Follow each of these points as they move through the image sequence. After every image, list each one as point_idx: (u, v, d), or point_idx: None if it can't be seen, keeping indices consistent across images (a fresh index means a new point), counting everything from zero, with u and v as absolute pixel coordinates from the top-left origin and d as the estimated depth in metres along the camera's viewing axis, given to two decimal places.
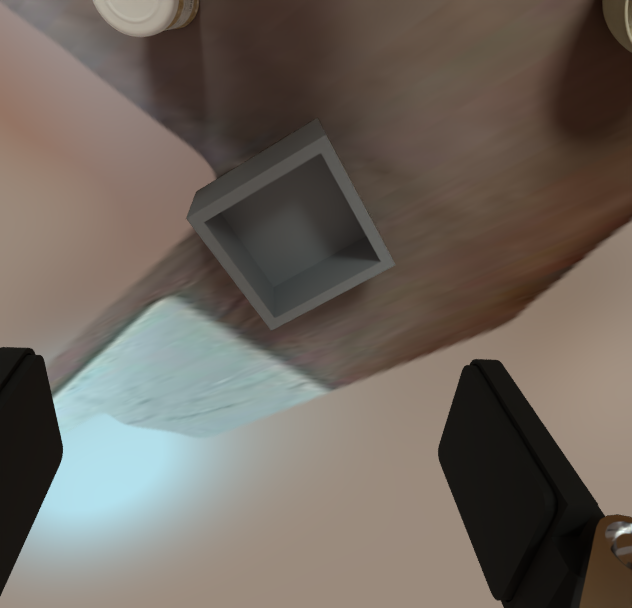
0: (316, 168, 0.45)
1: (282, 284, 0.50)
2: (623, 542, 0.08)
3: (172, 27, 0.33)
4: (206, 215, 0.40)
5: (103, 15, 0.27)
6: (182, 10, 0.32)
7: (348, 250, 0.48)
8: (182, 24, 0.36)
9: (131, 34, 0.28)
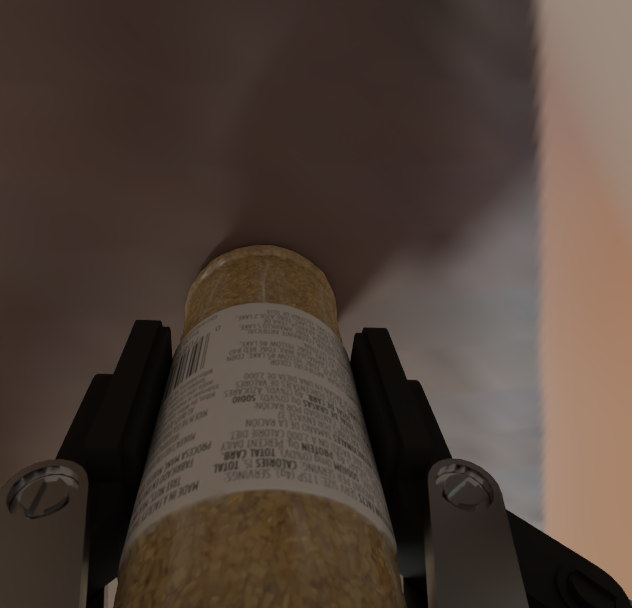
0: None
1: None
2: (450, 485, 0.08)
3: (274, 426, 0.08)
4: None
5: None
6: (179, 505, 0.07)
7: None
8: (261, 308, 0.11)
9: None
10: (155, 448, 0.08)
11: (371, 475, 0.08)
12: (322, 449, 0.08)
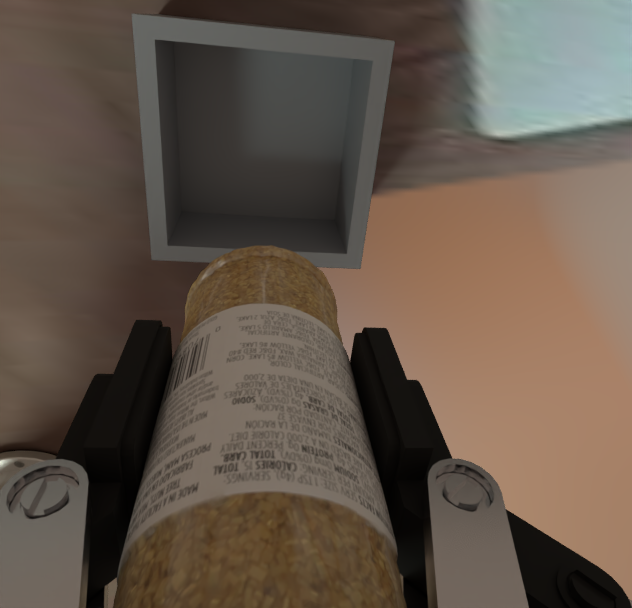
0: (197, 176, 0.34)
1: None
2: (450, 485, 0.08)
3: (274, 427, 0.08)
4: (337, 259, 0.31)
5: None
6: (179, 507, 0.07)
7: None
8: (261, 309, 0.11)
9: None
10: (155, 449, 0.08)
11: (371, 477, 0.08)
12: (323, 451, 0.08)
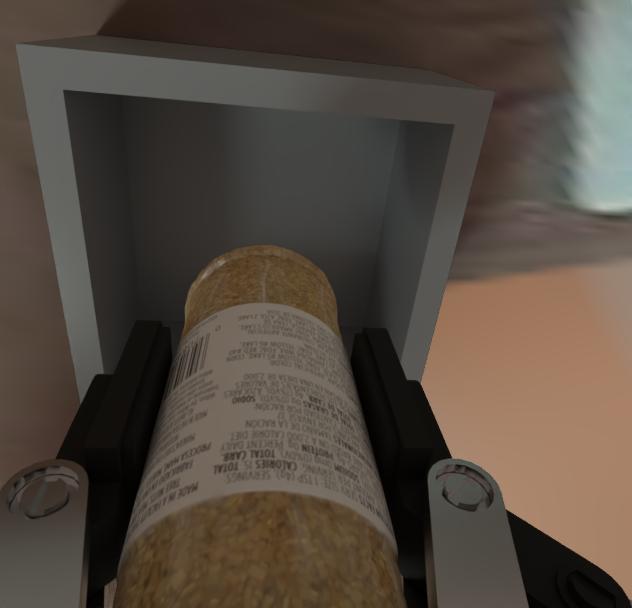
0: (164, 272, 0.23)
1: None
2: (450, 485, 0.08)
3: (274, 426, 0.08)
4: None
5: None
6: (179, 506, 0.07)
7: None
8: (261, 309, 0.11)
9: None
10: (154, 449, 0.08)
11: (372, 476, 0.08)
12: (323, 450, 0.08)
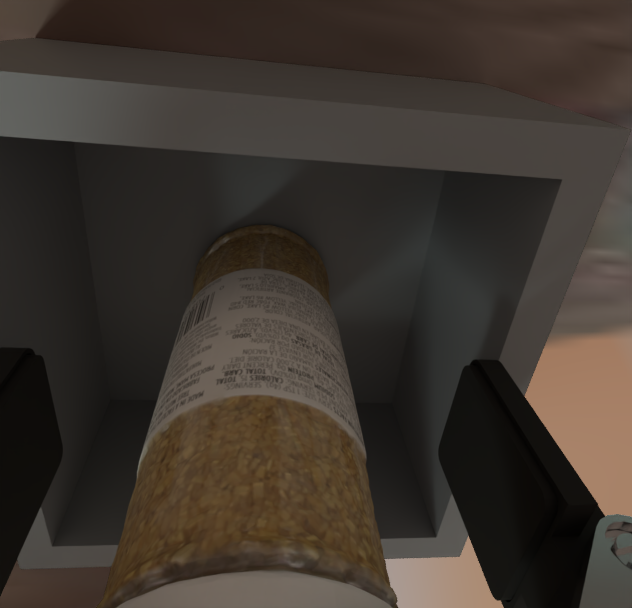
0: (137, 344, 0.18)
1: None
2: (623, 542, 0.08)
3: (266, 354, 0.09)
4: (416, 545, 0.15)
5: None
6: (188, 407, 0.08)
7: None
8: (259, 272, 0.12)
9: None
10: (168, 378, 0.10)
11: (347, 399, 0.10)
12: (305, 373, 0.09)
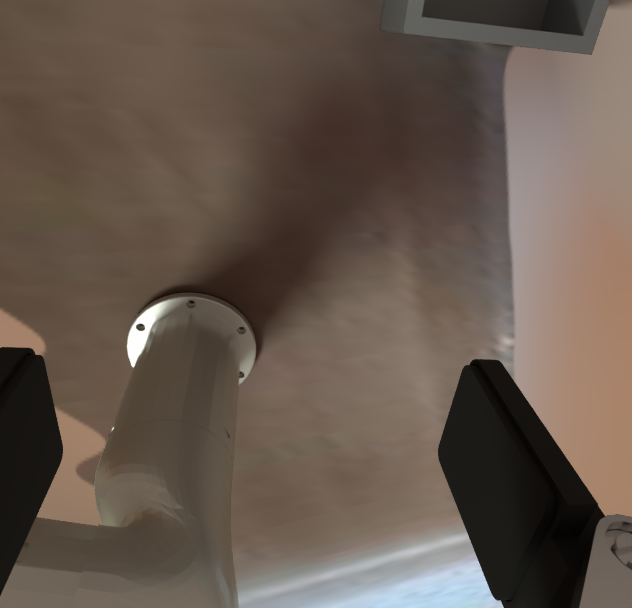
0: None
1: None
2: (623, 542, 0.08)
3: None
4: (573, 41, 0.32)
5: None
6: None
7: None
8: None
9: None
10: None
11: None
12: None
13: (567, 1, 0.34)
